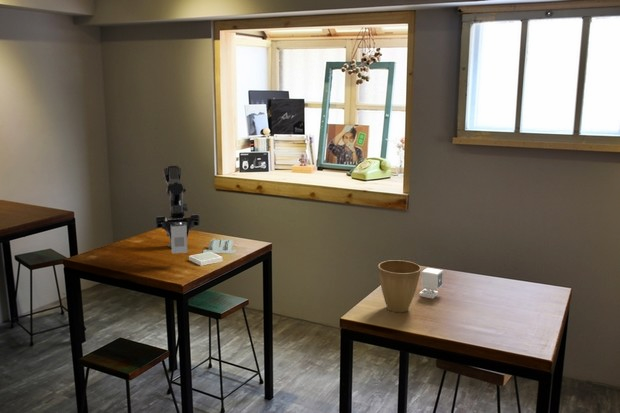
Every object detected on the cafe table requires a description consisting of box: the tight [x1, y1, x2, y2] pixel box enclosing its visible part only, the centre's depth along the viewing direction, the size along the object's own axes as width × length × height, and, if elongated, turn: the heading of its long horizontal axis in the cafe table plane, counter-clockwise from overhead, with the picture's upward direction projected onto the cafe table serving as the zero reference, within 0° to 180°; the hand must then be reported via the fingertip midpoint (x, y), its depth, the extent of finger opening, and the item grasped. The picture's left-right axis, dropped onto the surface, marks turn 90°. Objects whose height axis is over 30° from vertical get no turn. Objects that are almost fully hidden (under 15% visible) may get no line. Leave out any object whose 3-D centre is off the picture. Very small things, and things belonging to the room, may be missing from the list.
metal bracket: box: [202, 237, 236, 255], centre depth 295 cm, size 14×6×15 cm
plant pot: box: [377, 259, 422, 313], centre depth 218 cm, size 15×15×16 cm
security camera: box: [418, 267, 444, 299], centre depth 232 cm, size 6×7×10 cm
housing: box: [170, 222, 188, 255], centre depth 266 cm, size 5×6×13 cm
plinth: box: [188, 252, 224, 267], centre depth 277 cm, size 11×11×2 cm
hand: (179, 237), depth 265 cm, fingers closed on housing, 6 cm apart
